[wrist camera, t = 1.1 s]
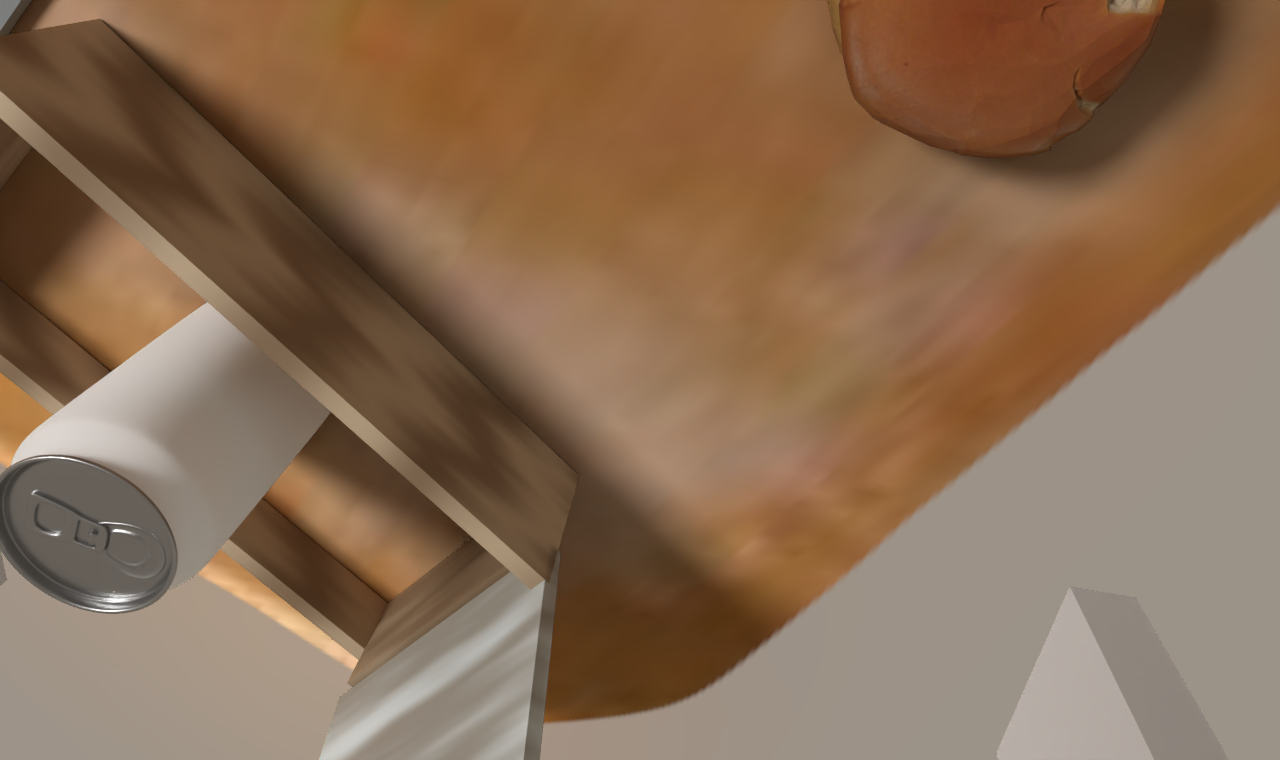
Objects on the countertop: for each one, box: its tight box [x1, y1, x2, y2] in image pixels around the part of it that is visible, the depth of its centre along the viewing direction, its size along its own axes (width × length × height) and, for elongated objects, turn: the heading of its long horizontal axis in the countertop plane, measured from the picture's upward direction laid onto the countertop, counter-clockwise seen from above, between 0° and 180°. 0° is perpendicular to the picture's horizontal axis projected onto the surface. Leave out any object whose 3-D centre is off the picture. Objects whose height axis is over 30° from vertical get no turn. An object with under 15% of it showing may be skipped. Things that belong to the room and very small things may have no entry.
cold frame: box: [0, 19, 579, 760], centre depth 26 cm, size 28×12×29 cm, turn 43°
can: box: [0, 302, 331, 614], centre depth 33 cm, size 6×6×12 cm
